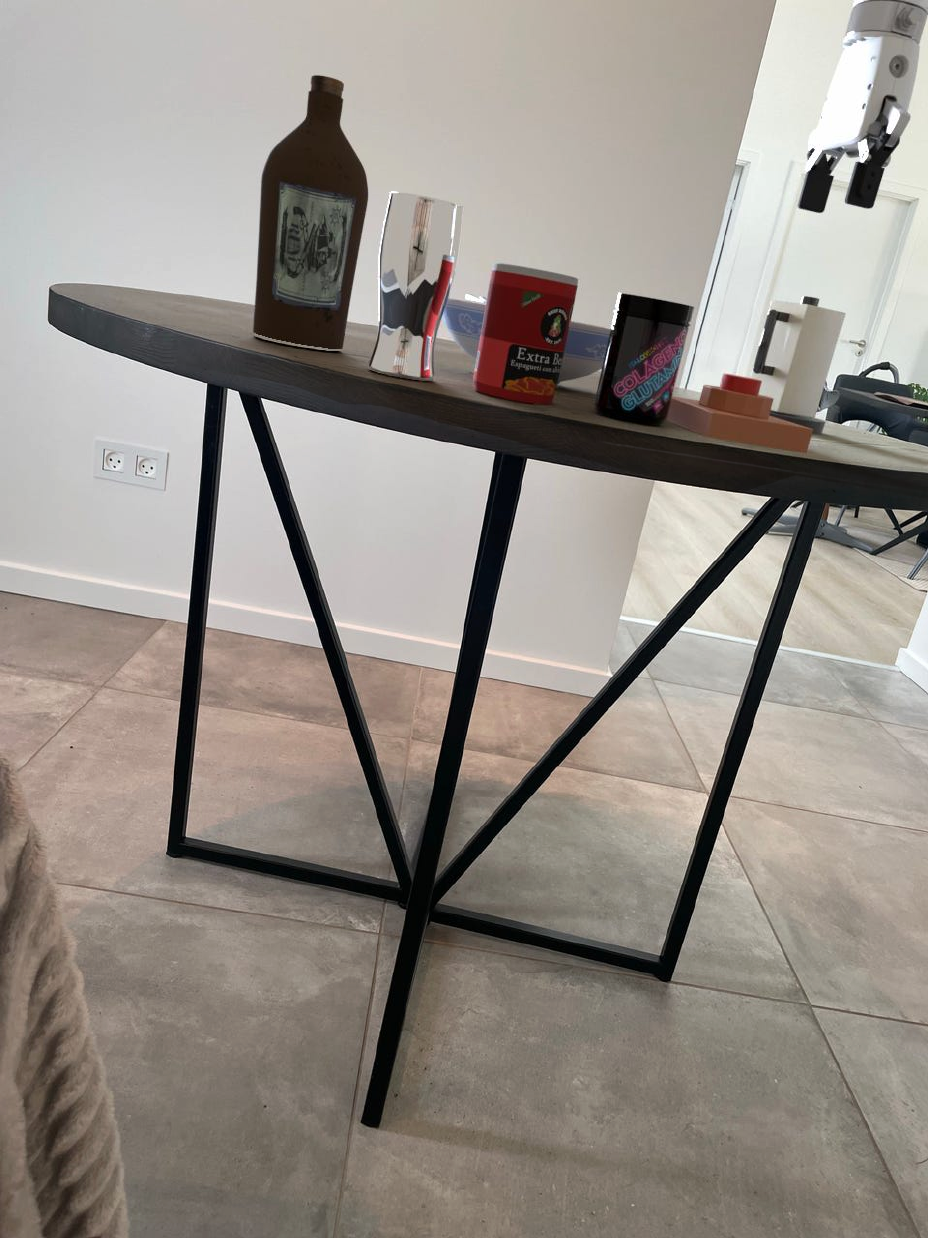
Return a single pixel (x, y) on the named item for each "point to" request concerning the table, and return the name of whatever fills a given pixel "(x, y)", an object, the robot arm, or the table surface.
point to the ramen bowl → (580, 348)
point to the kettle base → (801, 421)
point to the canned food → (524, 333)
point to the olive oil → (310, 227)
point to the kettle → (796, 354)
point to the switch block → (738, 419)
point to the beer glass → (414, 282)
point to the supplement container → (642, 359)
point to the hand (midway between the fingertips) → (833, 208)
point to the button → (740, 384)
